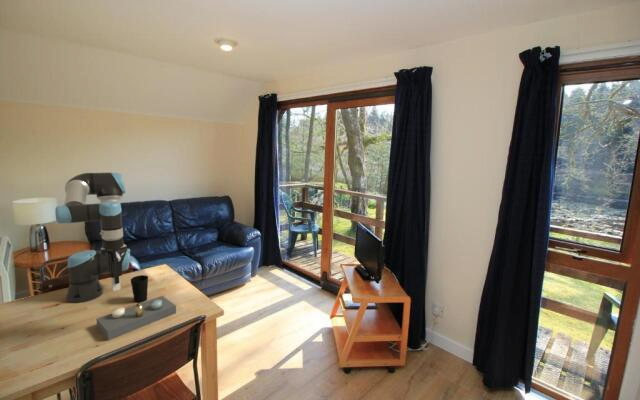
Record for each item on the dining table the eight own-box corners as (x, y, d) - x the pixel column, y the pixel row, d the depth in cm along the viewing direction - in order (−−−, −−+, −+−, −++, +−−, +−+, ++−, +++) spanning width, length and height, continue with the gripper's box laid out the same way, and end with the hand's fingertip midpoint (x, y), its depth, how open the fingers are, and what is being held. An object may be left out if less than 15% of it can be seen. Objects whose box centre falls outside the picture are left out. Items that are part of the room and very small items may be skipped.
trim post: (134, 315, 134) (133, 304, 133) (141, 313, 136) (140, 302, 135) (137, 318, 132) (136, 306, 131) (144, 315, 134) (143, 304, 133)
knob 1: (110, 323, 133) (109, 310, 132) (123, 319, 137) (122, 306, 136) (114, 327, 131) (113, 314, 129) (127, 323, 134) (126, 309, 133)
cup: (141, 304, 150) (139, 282, 148) (128, 302, 152) (126, 280, 150) (152, 297, 158) (151, 276, 156) (140, 295, 159) (138, 274, 157)
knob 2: (149, 315, 141) (148, 302, 140) (159, 311, 145) (159, 298, 144) (153, 318, 138) (153, 305, 137) (164, 314, 142) (163, 302, 141)
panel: (97, 326, 131) (96, 318, 130) (162, 303, 153) (162, 295, 152) (108, 340, 123) (107, 331, 122) (176, 313, 145) (175, 305, 144)
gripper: (96, 236, 128) (101, 287, 132) (107, 243, 120) (112, 297, 125) (116, 233, 134) (120, 282, 138) (128, 239, 126) (132, 291, 130)
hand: (116, 289), depth 131 cm, fingers closed
